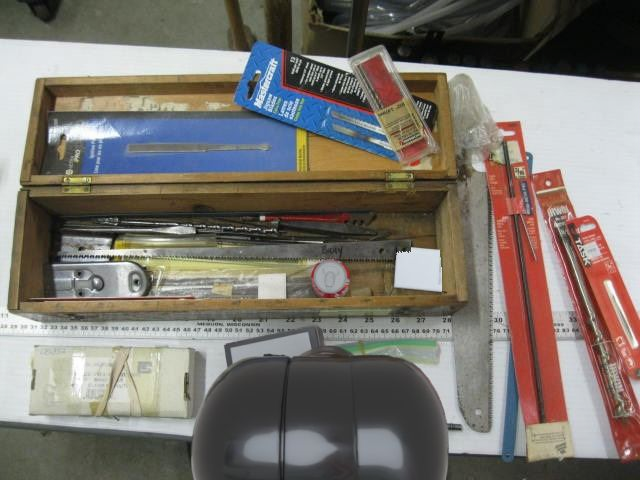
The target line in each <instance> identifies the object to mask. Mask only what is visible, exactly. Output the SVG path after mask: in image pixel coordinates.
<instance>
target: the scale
mask: <svg viewBox="0 0 640 480" xmlns="http://www.w3.org/2000/svg"><path fill="white" fill-rule="evenodd" d="M311 326H312V327H308V326H307V327H308V328H303V327H302V328H303V329H298V328H297V329H298V330H294V329H292V330H293V331H289V330H287V331H288V332H284V331H283V332H284V333H279V332H278V333H279V334H274V333H273V334H274V335H270V334H268V335H269V336H265V335H263V336H264V337H260V336H259V337H260V338H255V337H254V338H255V339H250V338H249V339H250V340H245V339H244V340H245V341H241V340H239V341H240V342H236V341H235V342H236V343H231V342H230V343H231V344H226V343H225V344H223V349H224V355H225V361H226V369H227V368H228V367H229V366H231V365H232V364H233V363H235V362H237V361H239V360H241V359H244V358H248V357H260V356H263V355H264V354H268V353H269V354H274V355H282V354H283V355H286V356H289V357H290V358H292V357H293V356H299V355H301V354H302V353H304V352H306V351H308V350H311V349H314V348H317V347H319V342H318V337H317V332H316V327H315V326H313V325H311Z"/></svg>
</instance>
